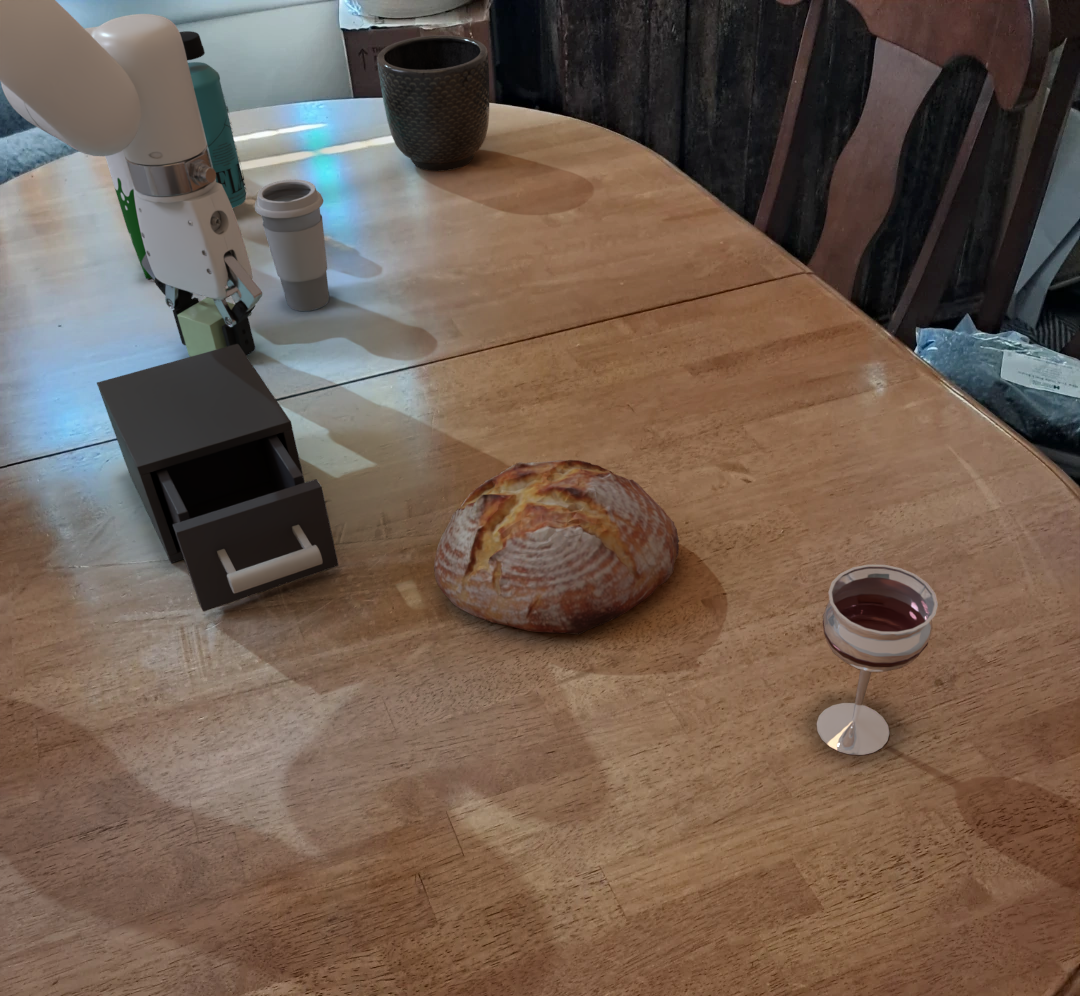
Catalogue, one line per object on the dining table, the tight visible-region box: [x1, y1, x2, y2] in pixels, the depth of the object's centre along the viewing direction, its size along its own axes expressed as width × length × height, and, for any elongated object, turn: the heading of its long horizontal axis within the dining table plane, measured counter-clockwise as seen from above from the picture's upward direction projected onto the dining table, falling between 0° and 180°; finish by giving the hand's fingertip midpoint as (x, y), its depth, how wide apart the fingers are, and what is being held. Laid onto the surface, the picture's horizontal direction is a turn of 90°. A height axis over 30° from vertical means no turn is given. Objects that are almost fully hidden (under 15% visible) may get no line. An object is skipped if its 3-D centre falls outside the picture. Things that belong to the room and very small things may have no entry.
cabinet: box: [96, 344, 306, 564], centre depth 99 cm, size 15×13×10 cm
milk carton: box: [104, 150, 153, 280], centre depth 128 cm, size 9×9×20 cm
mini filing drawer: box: [152, 435, 339, 613], centre depth 92 cm, size 18×11×8 cm, turn 27°
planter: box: [376, 34, 490, 172], centre depth 149 cm, size 14×14×13 cm
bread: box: [433, 459, 680, 635], centre depth 90 cm, size 16×20×10 cm
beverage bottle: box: [179, 30, 248, 209], centre depth 137 cm, size 6×7×20 cm
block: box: [177, 297, 235, 357], centre depth 119 cm, size 5×5×5 cm
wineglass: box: [816, 564, 939, 756], centre depth 76 cm, size 7×7×12 cm
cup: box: [254, 179, 330, 312], centre depth 123 cm, size 7×7×12 cm
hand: (218, 346), depth 120 cm, fingers open, 6 cm apart
